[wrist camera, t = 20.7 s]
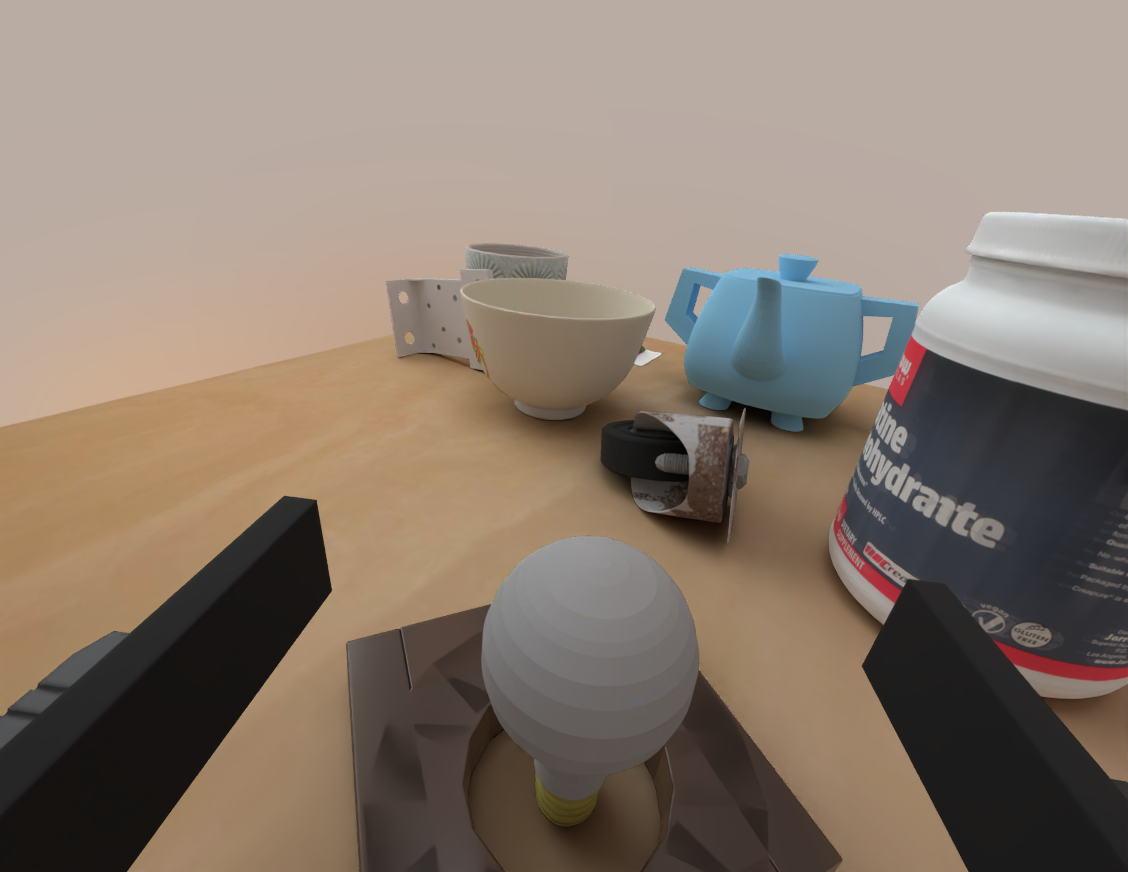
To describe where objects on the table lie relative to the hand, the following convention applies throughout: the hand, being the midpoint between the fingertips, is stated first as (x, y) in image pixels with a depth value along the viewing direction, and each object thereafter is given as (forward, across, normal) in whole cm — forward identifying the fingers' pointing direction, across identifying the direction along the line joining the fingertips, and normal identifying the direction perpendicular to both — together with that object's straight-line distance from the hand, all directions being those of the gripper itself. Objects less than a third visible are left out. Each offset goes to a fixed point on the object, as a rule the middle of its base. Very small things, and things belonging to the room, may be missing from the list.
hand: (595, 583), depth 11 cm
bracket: (+40, -17, -10) cm, 45 cm away
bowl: (+32, -4, -10) cm, 34 cm away
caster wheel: (+20, +5, -10) cm, 23 cm away
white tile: (+52, +2, -10) cm, 53 cm away
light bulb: (0, 0, -10) cm, 10 cm away
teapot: (+38, +15, -10) cm, 42 cm away
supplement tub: (+13, +20, -10) cm, 25 cm away
